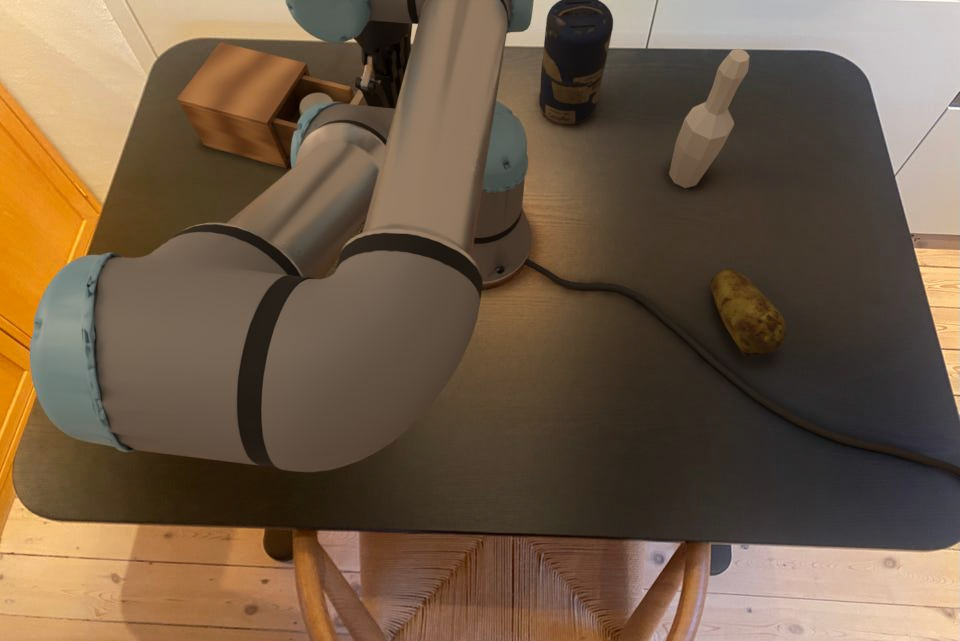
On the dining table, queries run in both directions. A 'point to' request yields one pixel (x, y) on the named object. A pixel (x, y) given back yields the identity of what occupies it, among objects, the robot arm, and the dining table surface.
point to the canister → (574, 59)
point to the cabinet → (241, 101)
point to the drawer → (290, 112)
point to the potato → (747, 313)
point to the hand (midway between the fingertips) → (400, 143)
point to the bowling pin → (708, 123)
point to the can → (313, 101)
